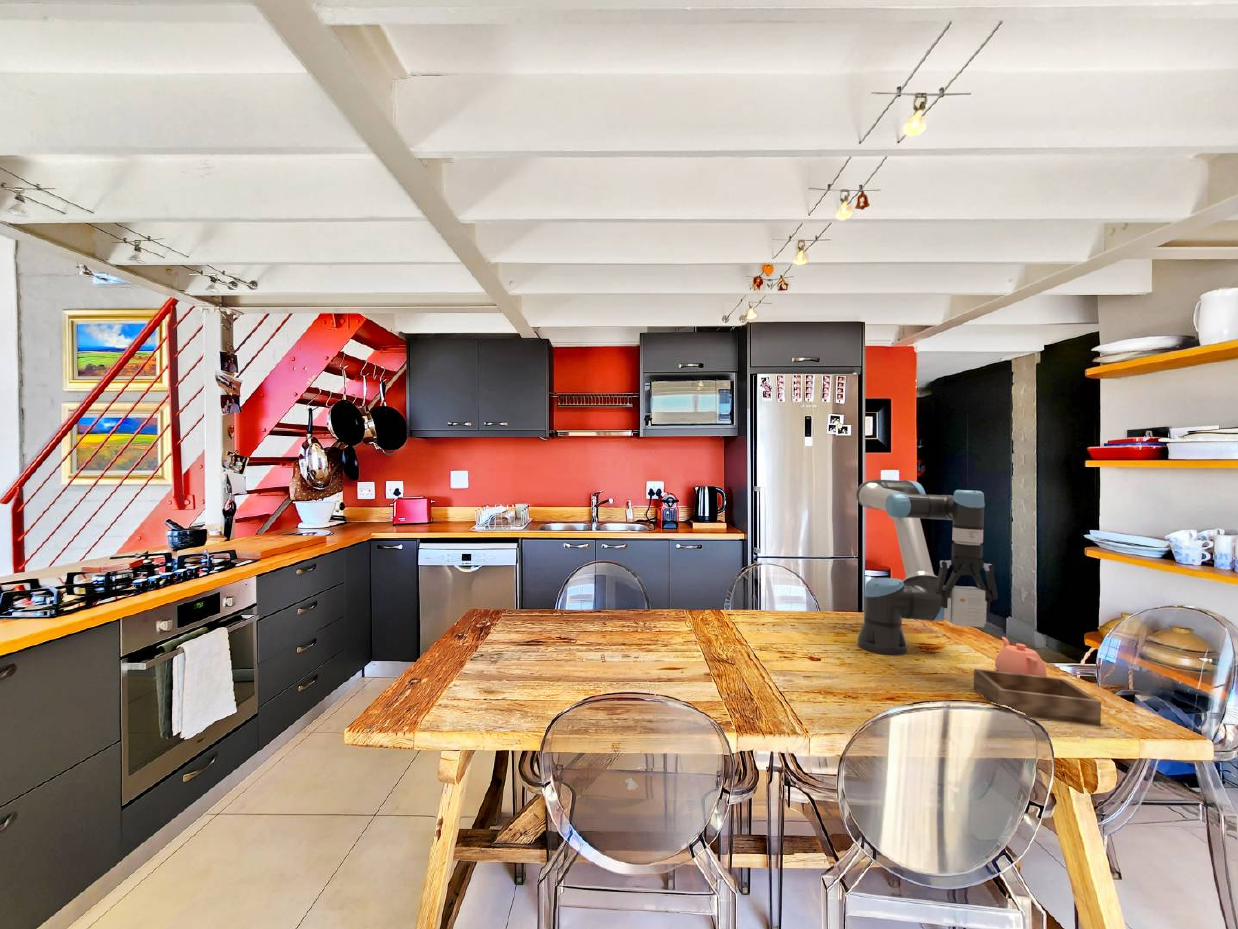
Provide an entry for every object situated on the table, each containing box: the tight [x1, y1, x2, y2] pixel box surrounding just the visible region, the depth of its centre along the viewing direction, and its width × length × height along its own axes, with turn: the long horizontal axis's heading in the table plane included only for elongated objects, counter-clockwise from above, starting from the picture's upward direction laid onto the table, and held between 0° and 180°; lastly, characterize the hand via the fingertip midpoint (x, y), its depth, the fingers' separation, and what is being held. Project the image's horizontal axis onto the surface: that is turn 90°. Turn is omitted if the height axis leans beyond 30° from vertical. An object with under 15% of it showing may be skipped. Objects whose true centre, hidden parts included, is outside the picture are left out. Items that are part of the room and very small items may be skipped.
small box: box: [945, 585, 986, 628], centre depth 154 cm, size 8×6×10 cm
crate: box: [973, 668, 1102, 726], centre depth 138 cm, size 21×15×6 cm
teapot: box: [994, 636, 1048, 677], centre depth 160 cm, size 12×18×10 cm
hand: (964, 621), depth 154 cm, fingers closed on small box, 8 cm apart
